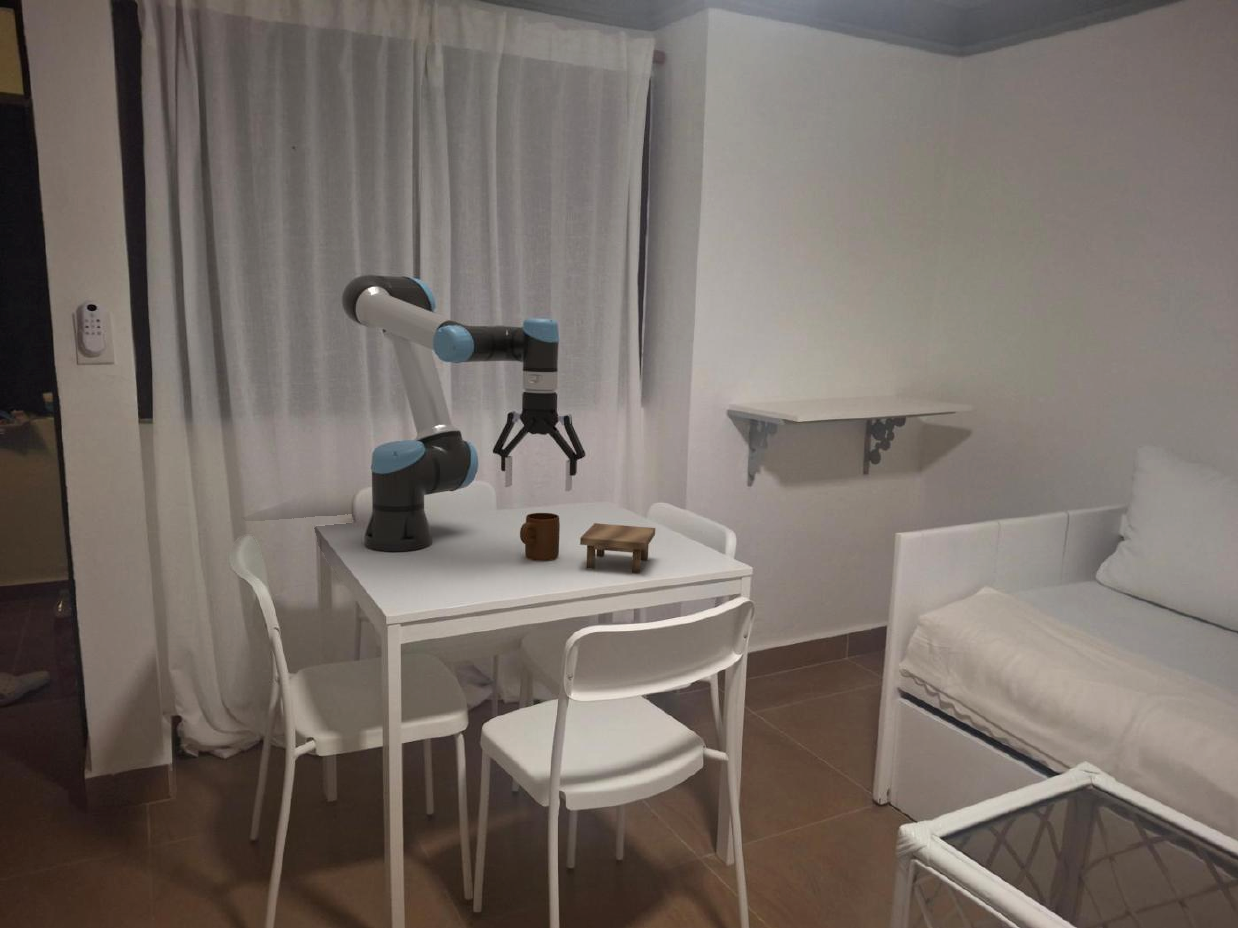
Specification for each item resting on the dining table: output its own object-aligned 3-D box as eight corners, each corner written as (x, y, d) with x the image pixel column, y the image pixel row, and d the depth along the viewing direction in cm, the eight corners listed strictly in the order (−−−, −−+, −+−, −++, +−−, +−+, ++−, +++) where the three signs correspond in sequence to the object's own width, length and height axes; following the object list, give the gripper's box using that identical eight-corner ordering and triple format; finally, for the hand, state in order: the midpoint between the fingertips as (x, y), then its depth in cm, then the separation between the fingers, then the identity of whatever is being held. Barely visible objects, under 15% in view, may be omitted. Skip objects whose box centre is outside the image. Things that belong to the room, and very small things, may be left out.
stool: (579, 569, 193) (580, 537, 192) (593, 552, 207) (594, 523, 206) (643, 575, 191) (645, 543, 189) (654, 558, 204) (655, 527, 203)
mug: (535, 568, 193) (536, 525, 191) (506, 562, 197) (507, 520, 195) (565, 556, 203) (566, 515, 202) (537, 550, 207) (537, 510, 205)
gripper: (478, 389, 192) (478, 487, 196) (592, 395, 188) (590, 495, 191) (490, 387, 200) (489, 481, 203) (600, 392, 195) (597, 488, 199)
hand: (538, 488), depth 197 cm, fingers open, 13 cm apart
